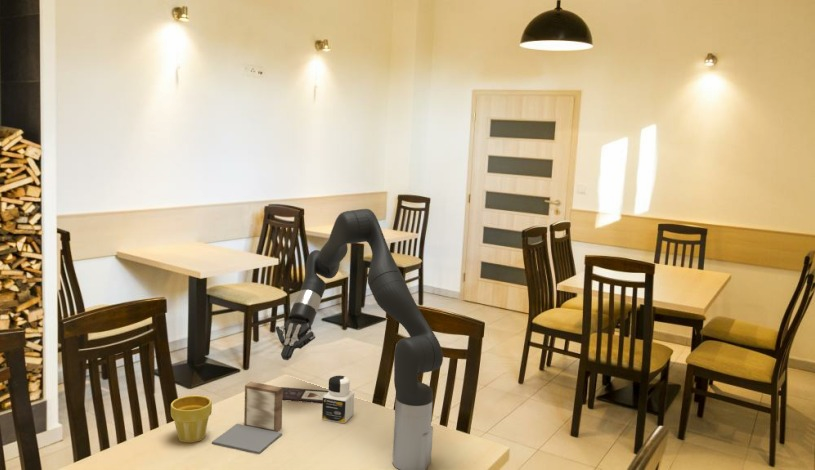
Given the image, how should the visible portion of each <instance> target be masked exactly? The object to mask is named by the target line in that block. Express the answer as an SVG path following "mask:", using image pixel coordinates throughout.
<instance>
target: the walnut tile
mask: <svg viewBox="0 0 815 470" xmlns="http://www.w3.org/2000/svg"><path fill="white" fill-rule="evenodd" d="M283 387H284V386H278V385H277V386H275V385H271V384H265V383H260V382H254V381H250V382H247V383H246V384H245V385H244V418H243V419H244V420H243V425H246V426H250V427H255V428H260V429H265V430H270V431H275V432H280V431H281V430H282V428H283V400H282V398H283Z"/></svg>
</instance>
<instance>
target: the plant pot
mask: <svg viewBox="0 0 815 470" xmlns="http://www.w3.org/2000/svg"><path fill="white" fill-rule="evenodd" d="M212 406H213V405H212V400H211V398H210V397H208V396H204V395H197V394H196V395H193V394H192V395H186V396H182V397H181V396H180V397H179V398H176V399H174V400H173V401H172V402H171V403H170V416H171V419H172V420H173V421H174V424H175V430H176V433H177V436H178V440H179V441H181V442H182V443H187V444H189V443H192V444H193V443H197V442H200V441H202V440H203V439H204V438H205V437H206V431H207V428H208V427H207V426H208V423H209V422H208V421H209V418H210V416H211V415H212V410H213V409H212V408H213V407H212Z"/></svg>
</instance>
